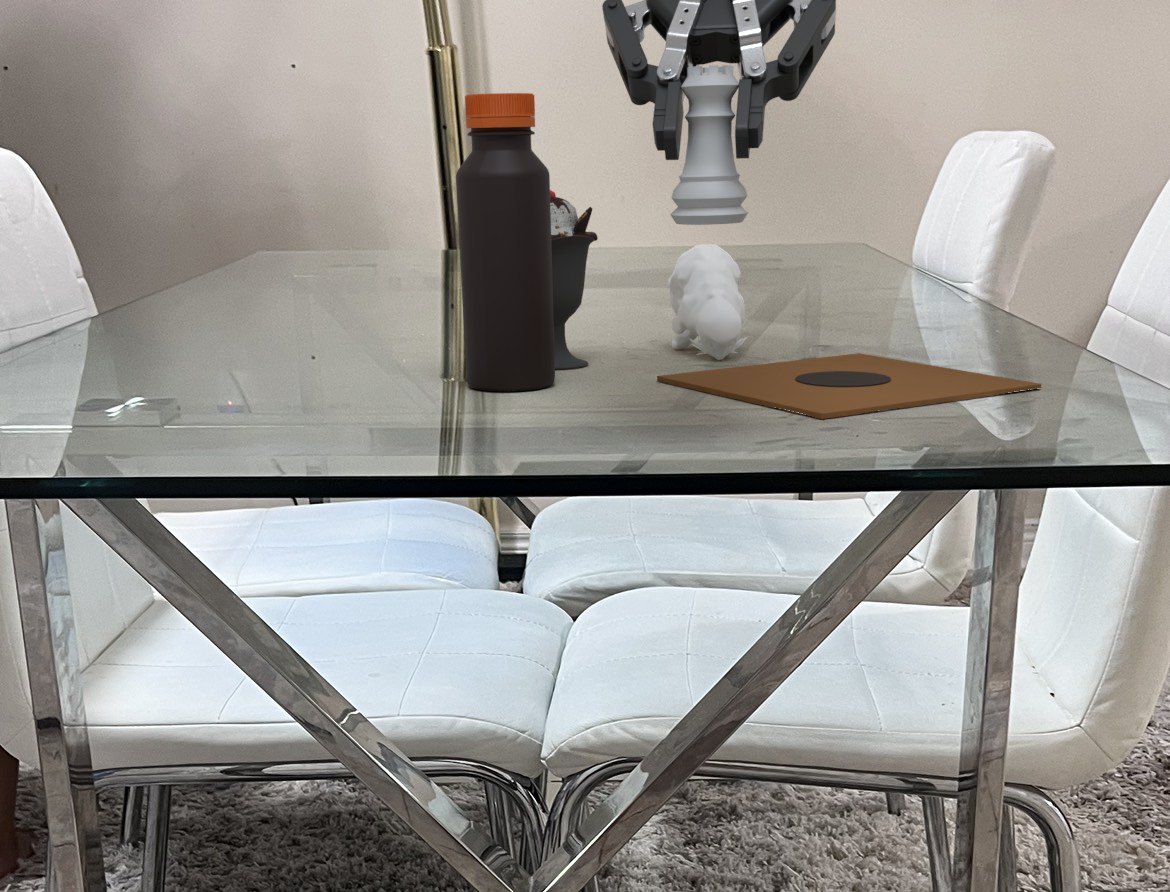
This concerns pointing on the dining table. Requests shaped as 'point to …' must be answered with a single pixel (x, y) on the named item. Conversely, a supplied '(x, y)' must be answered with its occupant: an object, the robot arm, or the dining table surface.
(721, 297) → the white animal figurine
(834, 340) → the dining table surface
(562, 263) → the sundae
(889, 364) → the centre mat
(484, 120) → the bottle
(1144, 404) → the dining table surface
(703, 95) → the rook chess piece
